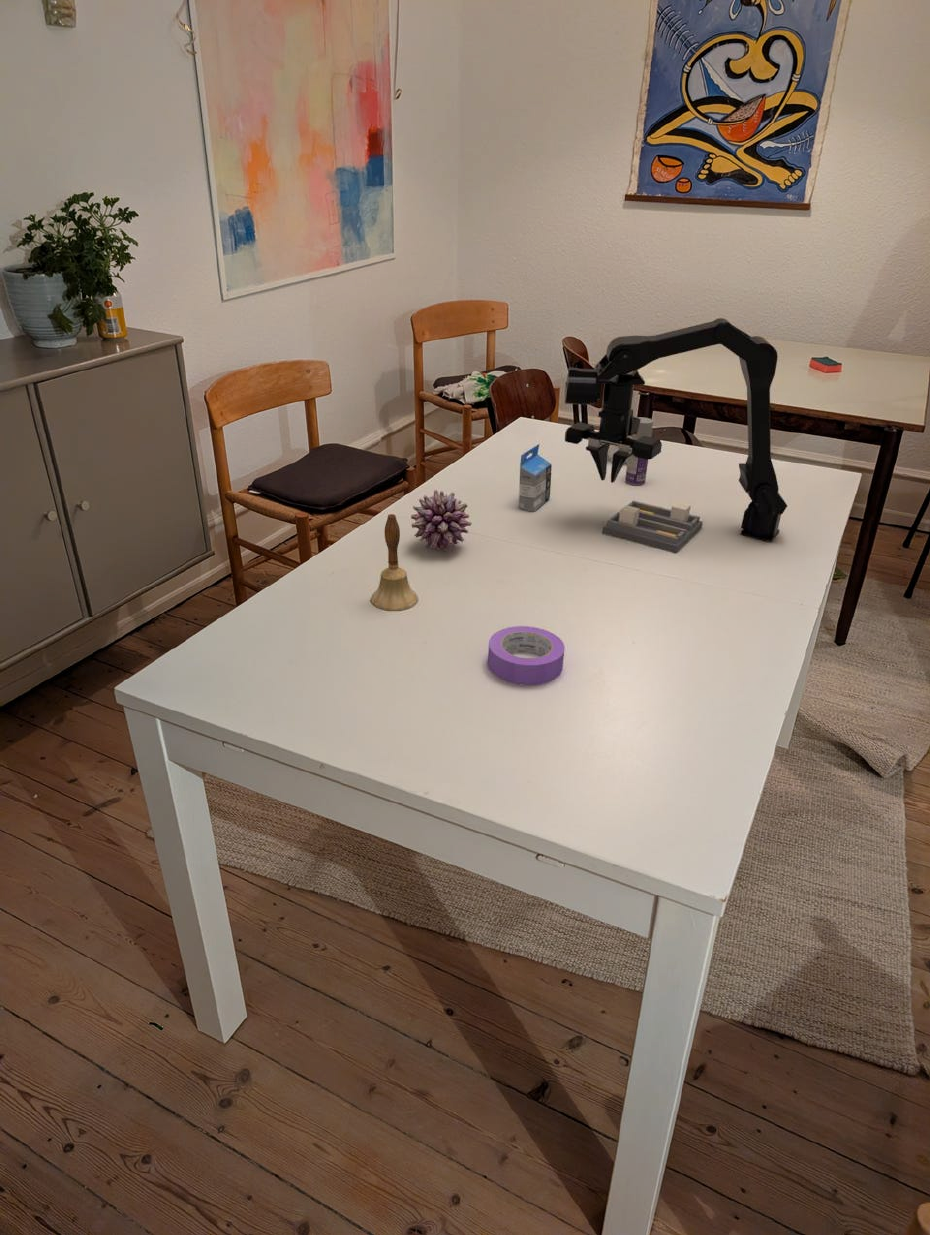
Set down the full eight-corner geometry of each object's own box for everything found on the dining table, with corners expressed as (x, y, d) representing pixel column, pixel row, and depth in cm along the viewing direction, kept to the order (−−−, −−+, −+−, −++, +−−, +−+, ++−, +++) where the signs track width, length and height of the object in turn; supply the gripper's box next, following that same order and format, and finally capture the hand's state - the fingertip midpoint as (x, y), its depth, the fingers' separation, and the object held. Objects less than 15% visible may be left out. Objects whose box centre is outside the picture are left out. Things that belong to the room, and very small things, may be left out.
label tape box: (533, 512, 188) (537, 458, 182) (516, 508, 190) (520, 454, 184) (550, 499, 195) (554, 446, 189) (533, 496, 197) (537, 443, 191)
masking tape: (517, 637, 143) (518, 617, 142) (577, 663, 137) (579, 642, 135) (472, 666, 135) (473, 645, 134) (533, 695, 129) (535, 674, 127)
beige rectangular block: (688, 520, 183) (690, 505, 181) (683, 525, 180) (685, 509, 179) (674, 517, 184) (676, 502, 182) (669, 522, 182) (671, 506, 180)
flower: (464, 564, 166) (466, 506, 160) (403, 557, 168) (402, 499, 162) (476, 539, 176) (478, 484, 170) (418, 533, 177) (418, 477, 171)
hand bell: (375, 613, 149) (373, 527, 141) (366, 591, 155) (364, 507, 148) (422, 608, 151) (423, 523, 143) (412, 586, 158) (412, 504, 150)
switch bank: (701, 528, 184) (703, 516, 182) (676, 553, 173) (678, 540, 171) (630, 510, 191) (632, 498, 190) (602, 533, 180) (603, 521, 179)
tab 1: (637, 524, 180) (639, 508, 179) (631, 529, 178) (633, 513, 176) (624, 520, 182) (626, 505, 180) (618, 525, 179) (620, 509, 178)
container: (644, 479, 208) (652, 417, 200) (645, 486, 204) (654, 423, 196) (624, 478, 208) (632, 416, 201) (625, 485, 204) (633, 422, 197)
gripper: (676, 404, 172) (665, 479, 180) (590, 388, 181) (583, 460, 188) (655, 418, 164) (645, 495, 172) (566, 400, 172) (560, 475, 180)
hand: (607, 481), depth 178 cm, fingers closed
